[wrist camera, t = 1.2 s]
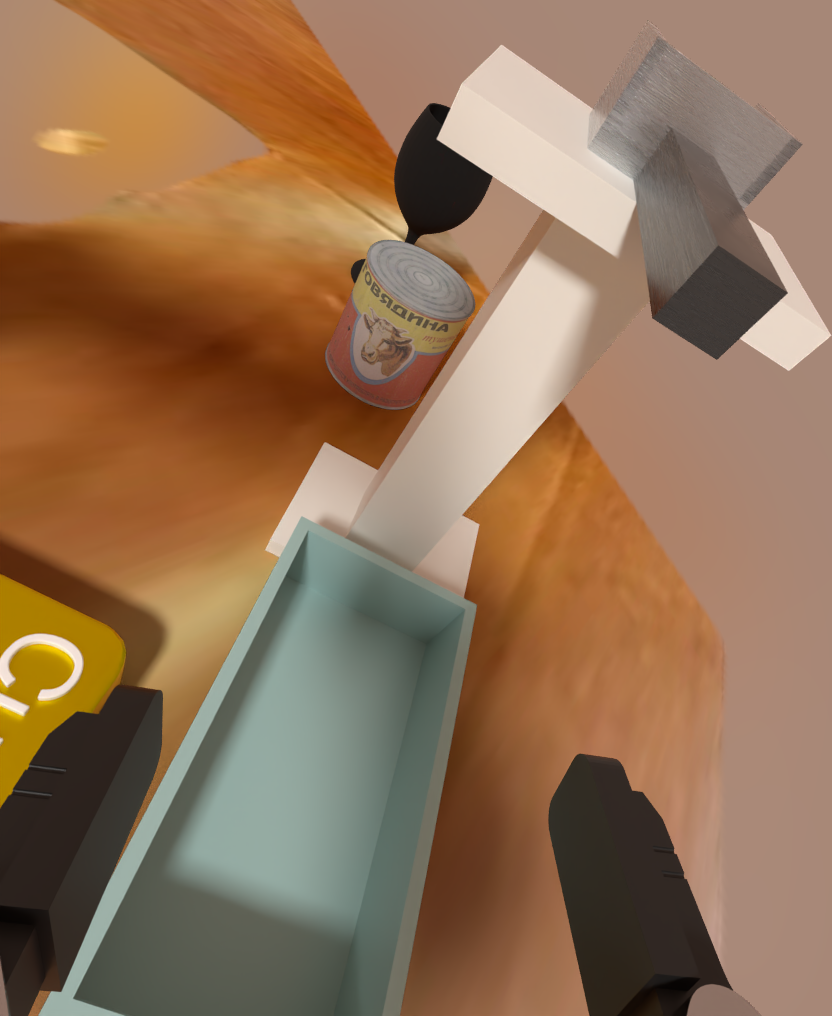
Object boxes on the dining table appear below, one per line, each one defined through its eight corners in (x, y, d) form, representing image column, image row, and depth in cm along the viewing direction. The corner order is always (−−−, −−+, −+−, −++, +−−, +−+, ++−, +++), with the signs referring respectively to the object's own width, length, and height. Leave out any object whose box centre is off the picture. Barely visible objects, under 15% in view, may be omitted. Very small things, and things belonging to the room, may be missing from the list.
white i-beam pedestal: (458, 644, 46) (831, 335, 24) (252, 544, 43) (461, 83, 21) (480, 537, 55) (771, 235, 32) (309, 447, 52) (501, 44, 29)
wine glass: (348, 251, 75) (414, 85, 61) (419, 278, 80) (496, 129, 66) (352, 297, 69) (427, 126, 55) (428, 324, 73) (515, 171, 60)
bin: (320, 1101, 27) (378, 1128, 22) (39, 1012, 25) (35, 1020, 20) (431, 645, 45) (477, 604, 40) (273, 568, 43) (301, 516, 38)
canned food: (307, 367, 58) (349, 265, 50) (349, 321, 66) (391, 226, 58) (402, 426, 59) (459, 336, 51) (432, 374, 67) (485, 289, 59)
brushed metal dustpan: (783, 402, 16) (940, 279, 13) (578, 270, 15) (701, 103, 12) (699, 191, 30) (766, 109, 27) (589, 114, 29) (647, 19, 26)
